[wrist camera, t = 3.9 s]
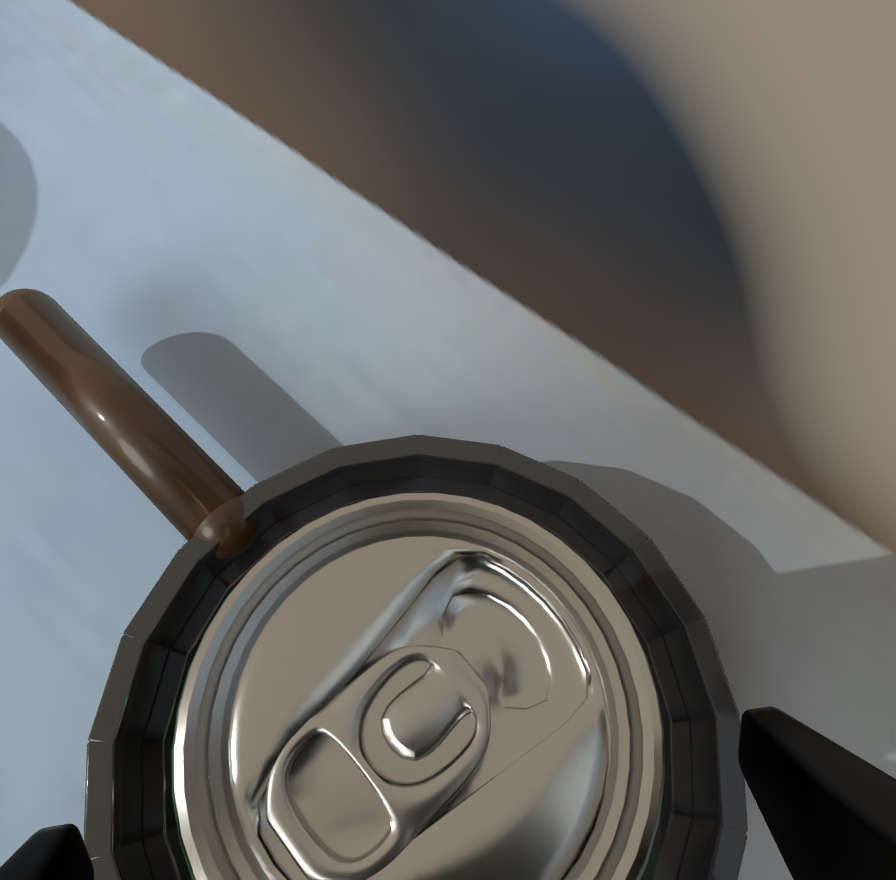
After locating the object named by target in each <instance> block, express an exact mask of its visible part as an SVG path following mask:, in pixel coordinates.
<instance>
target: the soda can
mask: <svg viewBox="0 0 896 880" xmlns="http://www.w3.org/2000/svg"><path fill="white" fill-rule="evenodd" d="M664 781H665V755H664V731H663V724H662V718H661V712H660V705H659V699H658V693H657V690H656V687H655V683H654V680H653V677H652V674H651V670H650V667H649V664H648V660H647V657H646V655H645V652H644V650H643V648H642V646H641V644H640V642H639V639H638V637H637V635H636V633H635V631H634V629H633V626H632V624H631V622H630V620H629V619H628V617H627V616H626V614H625V612H624V611H623V609H622V608H621V606H620V605H619V603H618V602H617V600H616V599H615V597H614V595H613V594H612V592H611V591H610V589H609V588H608V587H607V586H606V585H605V584H604V582H603V581H602V580H601V579H600V578H599V577H598V575H597V574H596V573H595V572H594V571H593V570H592V568H591V567H590V566H589V565H588V564H587V563H586V562H585V561H584V560H583V559H582V558H581V557H580V556H578V555H577V554H576V553H575V552H574V551H573V550H571V549H570V548H569V547H568V546H567V545H566V544H565V543H563V542H562V541H561V540H560V539H559V538H557V537H555V536H554V535H552V534H551V533H549V532H548V531H546V530H545V529H543V528H542V527H540V526H538V525H537V524H535V523H534V522H532V521H531V520H529V519H526V518H524V517H522V516H520V515H518V514H515V513H513V512H511V511H509V510H507V509H504V508H502V507H500V506H497V505H493V504H490V503H486V502H483V501H479V500H476V499H472V498H469V497H462V496H455V495H447V494H440V493H403V494H397V495H391V496H385V497H379V498H373V499H368V500H365V501H362V502H359V503H356V504H353V505H350V506H346V507H343V508H340V509H337V510H335V511H333V512H331V513H329V514H327V515H325V516H323V517H321V518H319V519H317V520H315V521H313V522H311V523H309V524H307V525H305V526H304V527H302V528H301V529H299V530H298V531H297V532H295V533H294V534H292V535H291V536H289V537H288V538H286V539H285V540H283V541H282V542H280V543H279V544H277V545H276V546H275V547H274V548H273V549H272V550H271V551H270V552H269V553H267V554H266V555H265V556H264V557H263V558H262V559H261V560H260V561H259V562H258V563H257V564H255V565H254V566H253V567H252V568H251V569H250V570H249V571H248V572H247V574H246V575H245V576H244V577H243V578H242V580H241V581H240V582H239V583H238V585H237V586H236V587H235V588H234V589H233V591H232V592H231V593H230V594H229V595H228V597H227V598H226V599H225V601H224V602H223V604H222V606H221V607H220V609H219V610H218V612H217V614H216V615H215V617H214V619H213V620H212V622H211V623H210V625H209V627H208V628H207V630H206V632H205V634H204V636H203V638H202V640H201V643H200V645H199V647H198V650H197V652H196V654H195V656H194V659H193V661H192V663H191V665H190V668H189V670H188V674H187V677H186V681H185V685H184V688H183V692H182V695H181V699H180V702H179V706H178V709H177V717H176V724H175V731H174V739H173V746H172V799H173V805H174V811H175V817H176V823H177V830H178V836H179V842H180V845H181V848H182V851H183V854H184V857H185V860H186V863H187V866H188V869H189V872H190V875H191V878H192V880H640V879H641V877H642V874H643V872H644V870H645V868H646V866H647V863H648V859H649V856H650V852H651V849H652V845H653V842H654V838H655V835H656V831H657V828H658V824H659V819H660V812H661V804H662V796H663V788H664Z"/></svg>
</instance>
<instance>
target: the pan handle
mask: <svg viewBox="0 0 896 880" xmlns="http://www.w3.org/2000/svg"><path fill="white" fill-rule="evenodd" d="M0 339H1V340H2V341H3V342H4V343H5V344H6V345H7V346H8V347H9V348H10V349H11V350H12V352H13V353H14V354H15V355H16V356H17V357H18V358H19V359H20V360H21V361H22V362H23V363H24V364H25V366H26V367H27V368H28V369H29V370H30V371H31V372H32V373H33V374H34V375H35V376H36V377H37V379H38V380H39V381H40V382H41V383H42V384H43V385H44V386H45V387H46V388H47V389H48V390H49V391H50V393H51V394H52V395H53V396H54V397H55V398H56V399H57V400H58V401H59V402H60V403H61V404H62V406H63V407H64V408H65V409H66V410H67V411H68V412H69V413H70V414H71V415H72V416H73V417H74V418H75V420H76V421H77V422H78V423H79V424H80V425H81V426H82V427H83V428H84V429H85V430H86V431H87V433H88V434H89V435H90V436H91V437H92V438H93V439H94V440H95V441H96V442H97V443H98V444H99V445H100V447H101V448H102V449H103V450H104V451H105V452H106V453H107V454H108V455H109V456H110V457H111V458H112V460H113V461H114V462H115V463H116V464H117V465H118V466H119V467H120V468H121V469H122V470H123V471H124V472H125V474H126V475H127V476H128V477H129V478H130V479H131V480H132V481H133V482H134V483H135V484H136V485H137V486H138V488H139V489H140V490H141V491H142V492H143V493H144V494H145V495H146V496H147V497H148V498H149V499H150V501H151V502H152V503H153V504H154V505H155V506H156V507H157V508H158V509H159V510H160V511H161V512H162V513H163V515H164V516H165V517H166V518H167V519H168V520H169V521H170V522H171V523H172V524H173V525H174V526H175V528H176V529H177V530H178V531H179V532H180V533H181V534H182V535H183V536H184V537H185V538H186V539H187V540H188V541H189V540H190V539H191V538H193V537H194V536H197V537H198V538H199V539H202V540H204V541H210V542H220V545H219V546H218V548H217V551H216V556H217V558H219V559H225V558H231V557H234V556H237V555H239V554H241V553H243V552H244V551H246V550H247V549H248V548H249V547H250V546H251V545H252V544H253V542H254V541H255V539H256V537H257V535H258V532H259V528H260V521H259V520H258V519H250V520H247V521H243V518H244V507H243V504H242V502H241V500H240V499H239V497H240V496H241V495H242V494H244V493H245V492H244V491H243V490H242V489H241V488H240V487H239V486H238V485H237V484H236V483H235V482H234V481H233V480H232V479H231V478H230V477H229V476H228V475H227V474H226V473H225V472H224V471H223V470H222V469H221V468H220V467H219V466H218V465H217V464H216V463H215V462H214V461H213V460H212V459H211V458H210V457H209V456H208V455H207V454H206V452H205V451H204V450H203V449H202V448H201V447H200V446H199V445H198V444H197V443H196V442H195V441H194V440H193V439H192V438H191V437H190V436H189V435H188V434H187V433H186V432H185V431H184V430H183V429H182V428H181V427H180V426H179V425H178V424H177V423H176V422H175V421H174V420H173V419H172V418H171V417H170V416H169V415H168V414H167V413H166V412H165V411H164V410H163V409H162V408H161V407H160V406H159V405H158V404H157V403H156V402H155V401H154V400H153V399H152V398H151V397H150V396H149V395H148V394H147V393H146V392H145V391H144V390H143V389H142V388H141V387H140V386H139V385H138V384H137V383H136V382H135V381H134V380H133V379H132V378H131V377H130V376H129V375H128V374H127V373H126V372H125V371H124V370H123V369H122V368H121V367H120V366H119V365H118V364H117V363H116V362H115V361H114V360H113V359H112V358H111V357H110V356H109V355H108V354H107V353H106V352H105V350H104V349H103V348H102V347H101V346H100V345H99V344H98V343H97V342H96V341H95V340H94V339H93V338H92V337H91V336H90V335H89V334H88V333H87V332H86V331H85V330H84V329H83V328H82V327H81V326H80V325H79V324H78V323H77V322H76V321H75V320H74V319H73V318H72V317H71V316H70V315H69V314H68V313H67V312H66V311H65V310H64V309H63V308H62V307H61V306H60V305H59V304H58V303H57V302H56V301H55V300H54V299H53V298H51V297H50V296H48V295H47V294H45V293H43V292H40V291H37V290H33V289H17V290H13V291H10V292H7V293H6V294H4V295H3V296H1V297H0Z"/></svg>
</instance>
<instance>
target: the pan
mask: <svg viewBox="0 0 896 880" xmlns="http://www.w3.org/2000/svg"><path fill="white" fill-rule="evenodd" d="M403 493H440V494H447V495H455V496H462V497H469V498H472V499H476V500H479V501H483V502H486V503H490V504H493V505H497V506H500V507H502V508H504V509H507V510H509V511H511V512H513V513H515V514H518V515H520V516H522V517H524V518H526V519H529V520H531V521H532V522H534V523H535V524H537V525H538V526H540V527H542V528H543V529H545V530H546V531H548V532H549V533H551V534H552V535H554V536H555V537H557V538H559V539H560V540H561V541H562V542H563V543H565V544H566V545H567V546H568V547H569V548H570V549H571V550H573V551H574V552H575V553H576V554H577V555H578V556H580V557H581V558H582V559H583V560H584V561H585V562H586V563H587V564H588V565H589V566H590V567H591V568H592V570H593V571H594V572H595V573H596V574H597V575H598V577H599V578H600V579H601V580H602V581H603V582H604V584H605V585H606V586H607V587H608V588H609V589H610V591H611V592H612V594H613V595H614V597H615V599H616V600H617V602H618V603H619V605H620V606H621V608H622V609H623V611H624V612H625V614H626V616H627V617H628V619H629V620H630V622H631V624H632V626H633V629H634V631H635V633H636V635H637V637H638V639H639V642H640V644H641V646H642V648H643V650H644V652H645V655H646V657H647V660H648V664H649V667H650V670H651V674H652V677H653V680H654V683H655V687H656V690H657V693H658V699H659V705H660V712H661V718H662V724H663V731H664V755H665V781H664V788H663V796H662V804H661V812H660V819H659V824H658V828H657V831H656V835H655V838H654V842H653V845H652V849H651V852H650V856H649V859H648V863H647V866H646V868H645V870H644V872H643V874H642V877H641V879H640V880H738V875H739V871H740V866H741V862H742V858H743V853H744V849H745V844H746V840H747V834H746V832H747V830H748V827H747V812H746V796H745V780H744V775H743V773H742V771H741V768H740V765H739V761H738V746H739V737H740V728H741V721H740V719H738V718H739V712H738V710H737V707H736V704H735V701H734V698H733V695H732V692H731V689H730V687H729V684H728V681H727V678H726V675H725V672H724V669H723V667H722V664H721V661H720V658H719V655H718V652H717V649H716V647H715V644H714V641H713V638H712V635H711V632H710V629H709V627H708V624H707V621H706V620H705V619H704V618H705V616H704V615H703V613H702V612H701V610H700V609H699V607H698V606H697V604H696V603H695V602H694V600H693V599H692V597H691V596H690V594H689V593H688V592H687V590H686V589H685V587H684V586H683V584H682V583H681V581H680V580H679V579H678V577H677V576H676V574H675V573H674V571H673V570H672V568H671V567H670V566H669V564H668V563H667V561H666V560H665V558H664V557H663V555H662V554H661V553H660V551H659V550H658V548H657V547H656V545H655V544H654V543H653V541H652V540H651V539H649V537H648V536H647V535H646V534H645V533H644V532H642V531H641V530H640V529H639V528H638V527H636V526H635V525H634V524H633V523H632V522H630V521H629V520H628V519H627V518H626V517H624V516H623V515H622V514H621V513H619V512H618V511H617V510H616V509H615V508H613V507H612V506H611V505H610V504H609V503H607V502H606V501H605V500H604V499H603V498H601V497H600V496H599V495H598V494H596V493H595V492H594V491H593V490H592V489H590V488H589V487H588V486H587V485H586V484H584V483H583V482H582V481H579V480H578V479H577V478H574V477H572V476H570V475H567V474H565V473H563V472H560V471H558V470H556V469H554V468H551V467H549V466H547V465H544V464H542V463H540V462H538V461H535V460H533V459H531V458H528V457H526V456H524V455H522V454H519V453H517V452H515V451H512V450H510V449H508V448H506V447H501V446H500V445H495V444H487V443H479V442H471V441H464V440H456V439H448V438H440V437H432V436H425V435H418V436H417V435H412V436H406V437H399V438H393V439H386V440H380V441H374V442H367V443H361V444H355V445H348V446H342V447H336V448H334V449H330V450H328V451H326V452H324V453H321V454H319V455H317V456H315V457H313V458H311V459H309V460H306V461H304V462H302V463H300V464H298V465H296V466H294V467H291V468H289V469H287V470H285V471H283V472H281V473H279V474H276V475H274V476H272V477H270V478H268V479H266V480H264V481H261V482H259V483H257V484H255V485H254V486H253V487H251V488H249V489H248V490H247V491H246V492H245V493H244V494H242V495H241V496H240V497H239V499H240V500H241V502H242V504H243V507H244V518H243V521H247V520H250V519H258V520H259V521H260V528H259V532H258V535H257V537H256V539H255V541H254V542H253V544H252V545H251V546H250V547H249V548H248V549H247V550H246V551H244V552H243V553H241V554H239V555H237V556H234V557H231V558H225V559H219V558H217V556H216V551H217V548H218V546H219V545H220V542H210V541H204V540H202V539H199V538H198V537H197V536H194V537H193V538H191V539H190V540H189V541H188V542H187V543H186V544H184V545H183V546H182V549H179V550H178V552H177V553H176V555H175V556H174V558H173V559H172V561H171V562H170V564H169V565H168V567H167V568H166V570H165V571H164V573H163V574H162V576H161V577H160V579H159V580H158V582H157V583H156V585H155V586H154V588H153V589H152V591H151V592H150V594H149V595H148V597H147V598H146V600H145V601H144V603H143V604H142V606H141V607H140V609H139V610H138V612H137V613H136V615H135V616H134V618H133V619H132V621H131V622H130V624H129V625H128V627H127V628H126V630H125V631H124V636H122V638H121V641H120V644H119V647H118V650H117V653H116V656H115V659H114V662H113V665H112V668H111V671H110V674H109V677H108V680H107V683H106V686H105V689H104V693H103V696H102V699H101V702H100V705H99V708H98V711H97V714H96V717H95V720H94V723H93V726H92V729H91V732H90V735H89V738H88V741H90V742H89V743H88V744H87V764H86V791H85V819H84V844H85V846H86V849H87V851H88V854H89V856H90V859H91V862H92V864H93V868H94V880H192V878H191V875H190V872H189V869H188V866H187V863H186V860H185V857H184V854H183V851H182V848H181V845H180V842H179V836H178V830H177V823H176V817H175V811H174V805H173V799H172V746H173V739H174V731H175V724H176V717H177V709H178V706H179V702H180V699H181V695H182V692H183V688H184V685H185V681H186V677H187V674H188V670H189V668H190V665H191V663H192V661H193V659H194V656H195V654H196V652H197V650H198V647H199V645H200V643H201V640H202V638H203V636H204V634H205V632H206V630H207V628H208V627H209V625H210V623H211V622H212V620H213V619H214V617H215V615H216V614H217V612H218V610H219V609H220V607H221V606H222V604H223V602H224V601H225V599H226V598H227V597H228V595H229V594H230V593H231V592H232V591H233V589H234V588H235V587H236V586H237V585H238V583H239V582H240V581H241V580H242V578H243V577H244V576H245V575H246V574H247V572H248V571H249V570H250V569H251V568H252V567H253V566H254V565H255V564H257V563H258V562H259V561H260V560H261V559H262V558H263V557H264V556H265V555H266V554H267V553H269V552H270V551H271V550H272V549H273V548H274V547H275V546H276V545H277V544H279V543H280V542H282V541H283V540H285V539H286V538H288V537H289V536H291V535H292V534H294V533H295V532H297V531H298V530H299V529H301V528H302V527H304V526H305V525H307V524H309V523H311V522H313V521H315V520H317V519H319V518H321V517H323V516H325V515H327V514H329V513H331V512H333V511H335V510H337V509H340V508H343V507H346V506H350V505H353V504H356V503H359V502H362V501H365V500H368V499H373V498H379V497H385V496H391V495H397V494H403Z"/></svg>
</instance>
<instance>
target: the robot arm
mask: <svg viewBox="0 0 896 880" xmlns="http://www.w3.org/2000/svg"><path fill="white" fill-rule="evenodd" d="M738 761H739V765H740V768H741V771H742V773H743V775H744V777H745V780H746V782H747V784H748V786H749V788H750V790H751V792H752V794H753V796H754V798H755V800H756V803H757V805H758V807H759V809H760V811H761V813H762V815H763V817H764V819H765V821H766V823H767V825H768V828H769V830H770V832H771V834H772V836H773V838H774V840H775V842H776V844H777V846H778V848H779V850H780V853H781V855H782V857H783V859H784V861H785V863H786V865H787V867H788V869H789V871H790V873H791V875H792V877H793V879H794V880H896V779H895V778H893V777H891V776H890V775H888V774H886V773H885V772H883V771H881V770H880V769H878V768H876V767H875V766H873V765H871V764H870V763H868V762H866V761H865V760H863V759H861V758H860V757H858V756H856V755H855V754H853V753H851V752H850V751H848V750H846V749H845V748H843V747H841V746H840V745H838V744H836V743H835V742H833V741H831V740H829V739H828V738H826V737H824V736H823V735H821V734H819V733H818V732H816V731H814V730H813V729H811V728H809V727H808V726H806V725H804V724H803V723H801V722H799V721H798V720H796V719H794V718H793V717H791V716H789V715H788V714H786V713H784V712H783V711H781V710H779V709H777V708H775V707H770V706H768V707H761V708H756V709H750V710H747V711H745V712H744V714H743V715H742V719H741V728H740V737H739V746H738ZM0 880H94V868H93V864H92V862H91V859H90V856H89V854H88V851H87V849H86V846H85V844H84V841H83V839H82V836H81V834H80V831H79V829H78V827H76V826H75V825H73V824H64V825H58V826H52V827H47V828H43V829H40V830H39V831H37V832H36V833H34V834H33V835H32V836H31V837H30V838H29V839H28V840H27V841H26V842H25V843H24V844H23V845H22V846H21V847H20V848H19V849H18V850H17V851H16V852H15V853H14V854H13V855H12V856H11V857H10V858H9V859H8V860H7V861H6V862H5V863H4V864H3V865H2V866H1V867H0Z"/></svg>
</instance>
